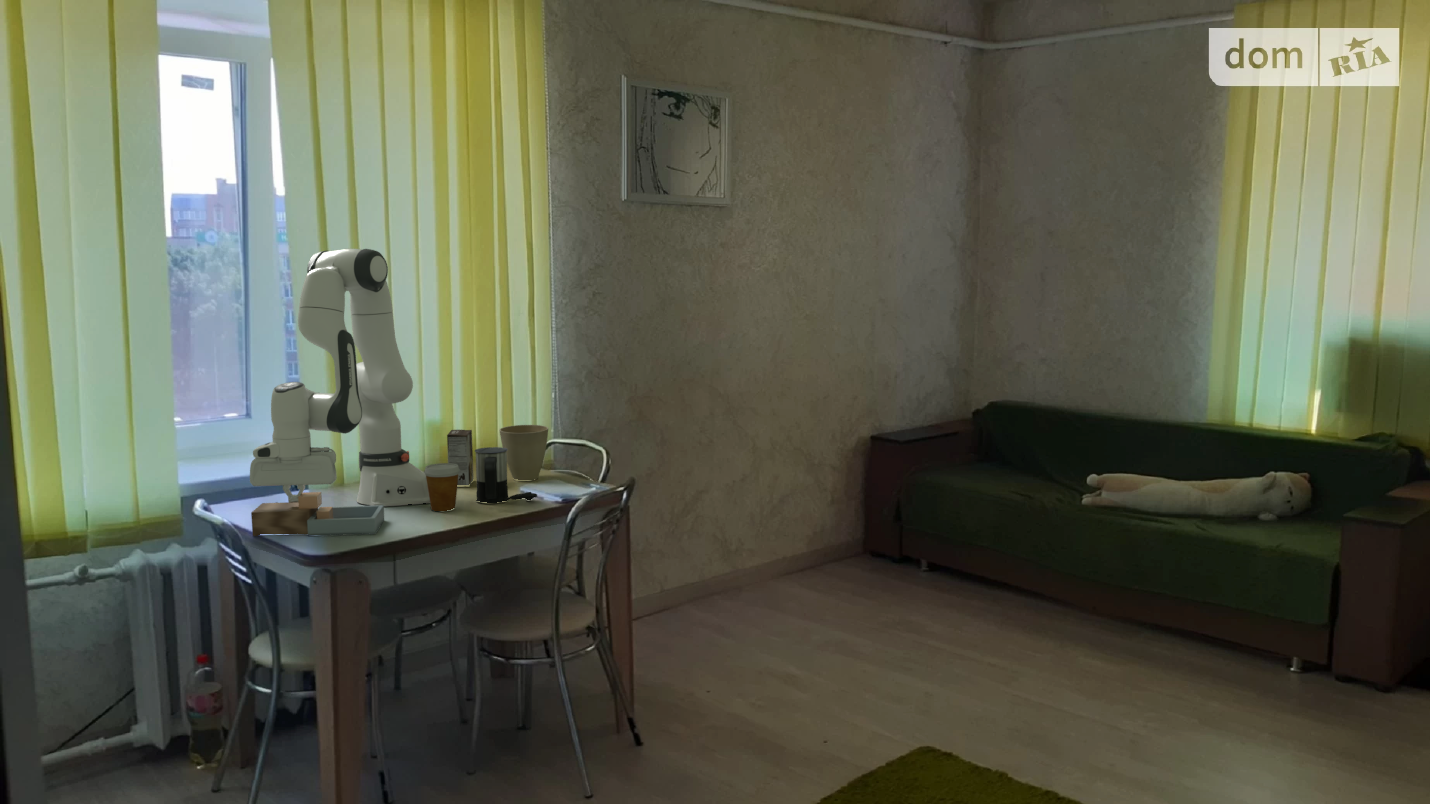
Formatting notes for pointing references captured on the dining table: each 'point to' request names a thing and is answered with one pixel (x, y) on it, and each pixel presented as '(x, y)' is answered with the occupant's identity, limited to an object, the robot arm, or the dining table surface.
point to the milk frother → (494, 476)
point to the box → (348, 521)
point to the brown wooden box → (280, 519)
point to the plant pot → (524, 449)
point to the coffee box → (461, 454)
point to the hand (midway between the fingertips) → (295, 502)
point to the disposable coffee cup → (442, 485)
